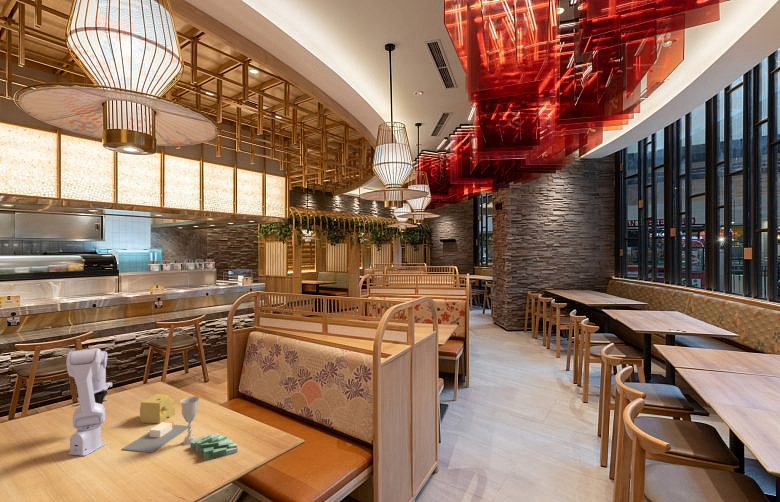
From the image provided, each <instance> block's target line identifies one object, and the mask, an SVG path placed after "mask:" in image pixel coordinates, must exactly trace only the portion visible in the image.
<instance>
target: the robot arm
mask: <svg viewBox="0 0 780 502" xmlns="http://www.w3.org/2000/svg"><path fill="white" fill-rule="evenodd" d="M65 361H66V362H65V363H66V370H67V373H68V376H69V377H72V378H74V382H75V384H76V390H77V391H76V392H77V397H78V400H79V406H78V407H76V408H75V409H74V411H73V414H72V427H73V428H74V429H76V431H75V432H74V433H73V434H71V436H70V437H69V452H68V453H67V454H68V455H72V456H73V455H74V456H83V457H86V456H88V455H89V454H91V453H92V452H95V451H96V450H98V449H100V448H102V447H103V446H105V445H106V444H107V442H104V441H102V439H101V438H102V437H101V435H102V432H101V430H102V425H103V423H105V419H106V413H107V412H106V411H107V410H106V408H105V406H104V404H103V402H104V399H105V398H106V395H107V394H108V388H111V387H113V382H112V381H110V382H107V379H106V378H107V377H106V376H107V375H106V373H107V371H106V367H107V365H108V364H107V363H108V362H107V361H108V352H107V351H105V350H101V349H100V348H98V347H95V348H89V349H88V348H87V349H80V350H73V351H71V350H70V351H69V352H68V353H67V354H66V360H65Z"/></svg>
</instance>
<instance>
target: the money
mask: <svg viewBox="0 0 780 502" xmlns="http://www.w3.org/2000/svg"><path fill="white" fill-rule="evenodd" d="M189 446H190V450H193V451H195V452H197V453H199V454H200V455H201V456H202V458H203V460H204V462H206V461H210V460H213V459H217V458H222V457H225V456H229V455H232V454H235V453H238V452H239V451H238V444H237V443H236V442H234V441H233V440H232V439H229V438H228V437H227V435H221V434H220V433H218V432H216V433H213V434H212V435H211V434H210V433H208V434H206V435H203V436H201V437H199V438H195V440H193V441H192V442H190V445H189Z"/></svg>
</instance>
